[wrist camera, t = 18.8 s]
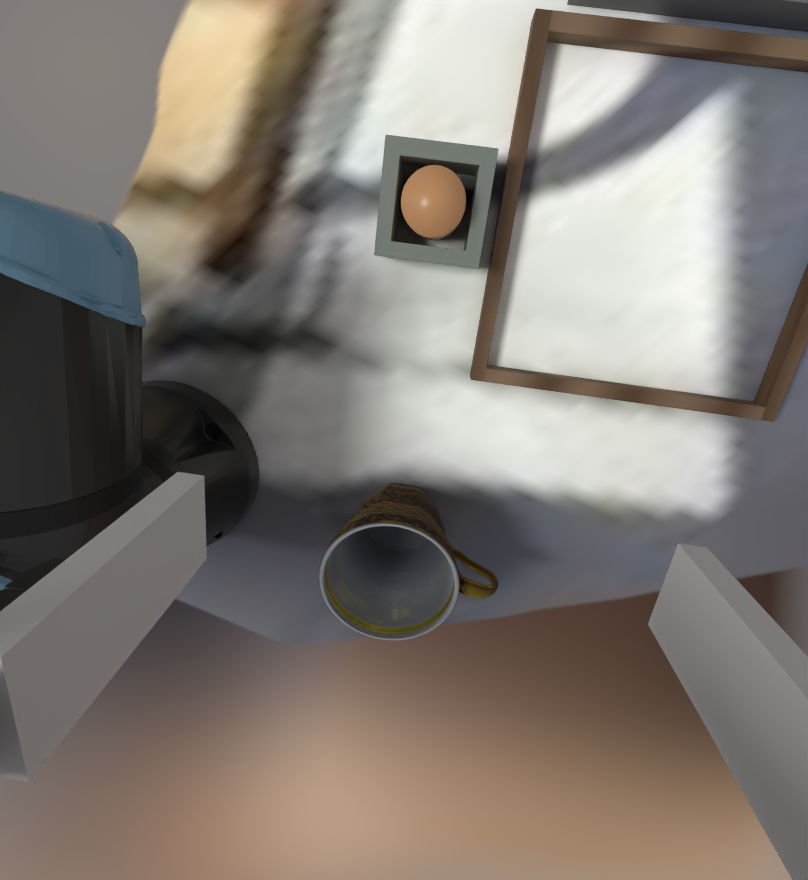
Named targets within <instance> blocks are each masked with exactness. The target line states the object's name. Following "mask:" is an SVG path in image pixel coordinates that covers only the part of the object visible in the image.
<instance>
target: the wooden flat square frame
mask: <svg viewBox="0 0 808 880" xmlns="http://www.w3.org/2000/svg"><path fill="white" fill-rule="evenodd" d="M547 42H554V43H563V44H572V45H580V46H589V47H597V48H606V49H615V50H623V51H632V52H640V53H649V54H658V55H666V56H675V57H683V58H692V59H701V60H709V61H718V62H726V63H735V64H744V65H752V66H761V67H769V68H778V69H787V70H795V71H804V72H808V40H807V39H798V38H790V37H781V36H772V35H763V34H755V33H746V32H737V31H728V30H720V29H711V28H702V27H693V26H685V25H676V24H667V23H658V22H650V21H641V20H632V19H623V18H615V17H606V16H597V15H588V14H580V13H571V12H562V11H553V10H545V9H536V10H535V13H534V16H533V18H532V22H531V28H530V34H529V40H528V45H527V51H526V57H525V62H524V68H523V74H522V80H521V85H520V91H519V97H518V103H517V108H516V114H515V120H514V126H513V131H512V137H511V143H510V149H509V154H508V160H507V166H506V172H505V177H504V183H503V189H502V195H501V200H500V206H499V212H498V218H497V223H496V229H495V235H494V241H493V246H492V252H491V258H490V264H489V269H488V275H487V281H486V287H485V292H484V298H483V304H482V310H481V315H480V321H479V327H478V333H477V338H476V344H475V350H474V355H473V361H472V367H471V373H470V378H471V380H477V381H484V382H491V383H498V384H506V385H513V386H520V387H527V388H535V389H542V390H549V391H556V392H563V393H571V394H578V395H585V396H592V397H599V398H607V399H614V400H621V401H628V402H636V403H643V404H650V405H657V406H664V407H672V408H679V409H686V410H693V411H700V412H708V413H715V414H722V415H729V416H736V417H744V418H751V419H758V420H765V421H773V422H774V421H775V418H776V416H777V413H778V411H779V408H780V406H781V404H782V401H783V399H784V396H785V394H786V392H787V389H788V387H789V384H790V382H791V379H792V377H793V375H794V372H795V370H796V367H797V365H798V363H799V360H800V358H801V355H802V353H803V350H804V348H805V346H806V343H807V341H808V265H807V267H806V270H805V272H804V275H803V277H802V280H801V283H800V285H799V288H798V290H797V293H796V295H795V298H794V300H793V303H792V305H791V308H790V311H789V313H788V316H787V318H786V321H785V323H784V326H783V328H782V331H781V333H780V336H779V339H778V341H777V344H776V346H775V349H774V351H773V354H772V356H771V359H770V362H769V364H768V367H767V369H766V372H765V374H764V377H763V379H762V382H761V384H760V387H759V390H758V392H757V395H756V397H755V400H754V402H751V401H744V400H737V399H730V398H722V397H715V396H708V395H700V394H693V393H686V392H679V391H671V390H664V389H657V388H650V387H642V386H635V385H628V384H620V383H613V382H606V381H599V380H591V379H584V378H577V377H570V376H562V375H555V374H548V373H541V372H533V371H526V370H519V369H511V368H504V367H497V366H490V365H487V362H488V357H489V351H490V346H491V341H492V335H493V330H494V324H495V319H496V314H497V308H498V303H499V297H500V292H501V287H502V281H503V276H504V270H505V265H506V260H507V254H508V249H509V243H510V238H511V233H512V227H513V222H514V216H515V211H516V206H517V200H518V195H519V189H520V184H521V179H522V173H523V168H524V162H525V157H526V152H527V146H528V141H529V135H530V130H531V125H532V119H533V114H534V108H535V103H536V98H537V92H538V87H539V81H540V76H541V71H542V65H543V60H544V54H545V49H546V44H547Z"/></svg>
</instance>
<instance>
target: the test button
mask: <svg viewBox="0 0 808 880" xmlns="http://www.w3.org/2000/svg"><path fill="white" fill-rule="evenodd" d="M465 206H466V194H465V189H464V186H463V184H462V182H461V180H460V179H459V177H458V176H457V175H456V174H455V173H454V172H453V171H451V170H450V169H448V168H446V167H443V166H439V165H429V166H425V167H423V168H421V169H419V170H417V171H416V172H415V173H413V174H412V175H411V176H410V178H409V179H408V180H407V182H406V184H405V186H404V188H403V191H402V196H401V208H402V213H403V216H404V218H405V220H406V222H407V224H408V225H409V226H410V227H411V228H412V229H413V230H414V231H415V232H416V233H417V234H418V235H419V236H421V237H423V238H426V239H430V240H438V239H442V238H445V237H447V236H449V235H450V234H451V233H452V232H454V231H455V229H456V228H457V227H458V225H459V224H460V221H461V219H462V217H463V214H464V211H465Z"/></svg>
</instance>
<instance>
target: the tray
mask: <svg viewBox="0 0 808 880" xmlns="http://www.w3.org/2000/svg"><path fill="white" fill-rule="evenodd" d="M567 4H571V5H580V6H589V7H597V8H606V9H615V10H624V11H633V12H641V13H650V14H659V15H668V16H677V17H685V18H694V19H703V20H712V21H720V22H729V23H738V24H747V25H756V26H764V27H773V28H782V29H791V30H800V31H808V0H568V3H567Z"/></svg>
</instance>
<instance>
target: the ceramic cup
mask: <svg viewBox="0 0 808 880" xmlns="http://www.w3.org/2000/svg"><path fill="white" fill-rule="evenodd" d="M455 558H456V559H458V560H459V561H461V562H462V563H463V564H464V565H466V566H467V567H469V568H470V569H472V570H474V571H476V572H478V573H479V574H481V575H483V576H484V577H486V578H487V579H488V580H490V581H491V583H492V584H493V585H484V584H480V583H477V582H475V581H472V580H470V579H467V578H465V577H463V576H462V575H461V574H460V572H459V571H458V569H457V565H456V561H455ZM319 582H320V588H321V592H322V595H323V598H324V600H325V602H326V604H327V606H328V607H329V608H330V610H331V611H332V612H333V614H334V615H335V616H336V617H337V618H338V619H339V620H340V621H341V622H343V623H344V624H345V625H346V626H348V627H350V628H351V629H353V630H355V631H357V632H359V633H361V634H363V635H366V636H369V637H372V638H377V639H383V640H406V639H411V638H415V637H418V636H421V635H424V634H426V633H428V632H430V631H432V630H433V629H435V628H436V627H438V626H439V625H440V624H442V623H443V622H444V621H445V620H446V619H447V617H448V616H449V615H450V613H451V612H452V610H453V609H454V607H455V604H456V602H457V599H458V595H459V592H460V593H462V594H464V595H466V596H469V597H473V598H486V597H490V596H491V595H493V594H494V593H495V591H496V590H497V587H498V580H497V578H496V576H495V575H494V574H493V573H492V572H490V571H489V570H487V569H486V568H484V567H482V566H480V565H479V564H477V563H475V562H473V561H472V560H470V559H469V558H467V557H466V556H465V555H463V554H462V553H461V552H459V551H457V550H455V549H454V548H453V547H452V546H451V545H450V544H449V541H448V539H447V537H446V534H445V531H444V528H443V525H442V523H441V520H440V516H439V513H438V509H437V508H436V507H435V505H434V504H433V503H432V502H431V501H430V499H429V498H428V497H427V496H426V494H425V493H424V492H423V491H422V490H421V489H420V488H419V487H413V486H406V485H400V484H393V483H389V484H387V485H386V486H384V487H383V488H381V489H380V490H378V491H377V492H375V493H374V494H372V495H371V496H369V497H368V498H367V499H366V500H365V501H364V502H363V503H362V505H361V506H360V508H359V509H358V510H357V511H356V513H355V514H354V515H353V516H352V518H351V519H350V520H349V522H348V523H346V524H345V525H344V526H343V527H342V529H341V530H340V531H339V533H338V534H337V535H336V536H335V538H334V539H333V540H332V542H331V544H330V545H329V547H328V549H327V550H326V552H325V554H324V556H323V559H322V561H321V565H320V571H319Z"/></svg>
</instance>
